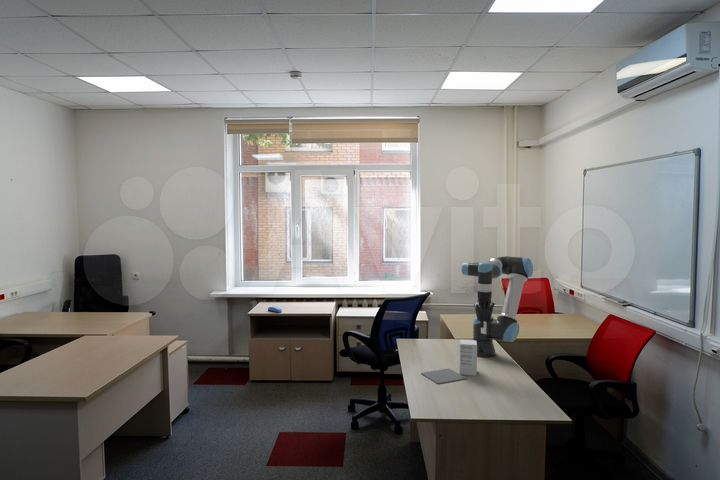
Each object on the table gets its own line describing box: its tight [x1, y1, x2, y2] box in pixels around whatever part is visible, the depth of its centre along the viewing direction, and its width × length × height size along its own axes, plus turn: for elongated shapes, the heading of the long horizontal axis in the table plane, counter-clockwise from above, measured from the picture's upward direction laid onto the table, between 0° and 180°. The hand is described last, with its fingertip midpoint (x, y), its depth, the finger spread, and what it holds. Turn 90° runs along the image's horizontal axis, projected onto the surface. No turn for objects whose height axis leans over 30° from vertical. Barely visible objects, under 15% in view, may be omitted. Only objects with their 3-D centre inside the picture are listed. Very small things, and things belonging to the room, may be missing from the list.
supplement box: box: [458, 339, 478, 376], centre depth 256 cm, size 10×9×17 cm
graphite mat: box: [420, 368, 467, 385], centre depth 250 cm, size 18×16×1 cm
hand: (483, 333), depth 259 cm, fingers closed
